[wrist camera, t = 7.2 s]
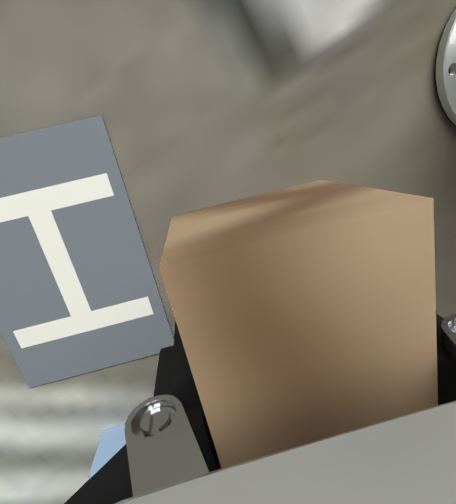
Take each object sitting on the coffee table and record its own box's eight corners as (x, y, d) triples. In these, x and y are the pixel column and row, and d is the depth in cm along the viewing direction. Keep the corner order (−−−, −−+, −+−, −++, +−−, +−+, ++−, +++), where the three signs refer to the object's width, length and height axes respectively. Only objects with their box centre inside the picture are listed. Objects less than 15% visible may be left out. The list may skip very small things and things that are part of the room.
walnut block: (321, 179, 10) (433, 198, 6) (349, 396, 13) (440, 531, 8) (172, 216, 10) (158, 267, 5) (232, 428, 13) (258, 587, 8)
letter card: (102, 115, 24) (101, 115, 24) (176, 347, 30) (176, 348, 30) (-87, 158, 23) (-90, 158, 23) (30, 386, 30) (29, 388, 29)
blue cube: (151, 415, 32) (145, 460, 28) (165, 452, 34) (162, 500, 29) (103, 429, 32) (88, 476, 27) (119, 465, 34) (108, 515, 29)
